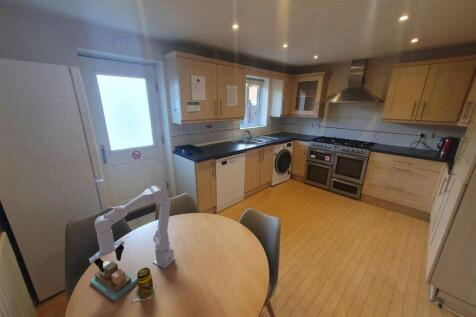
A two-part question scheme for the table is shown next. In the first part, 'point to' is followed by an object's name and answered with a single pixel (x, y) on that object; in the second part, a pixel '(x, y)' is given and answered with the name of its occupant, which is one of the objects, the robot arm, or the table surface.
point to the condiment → (144, 285)
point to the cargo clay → (118, 276)
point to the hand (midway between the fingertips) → (110, 265)
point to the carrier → (107, 278)
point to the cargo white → (104, 266)
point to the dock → (110, 292)
